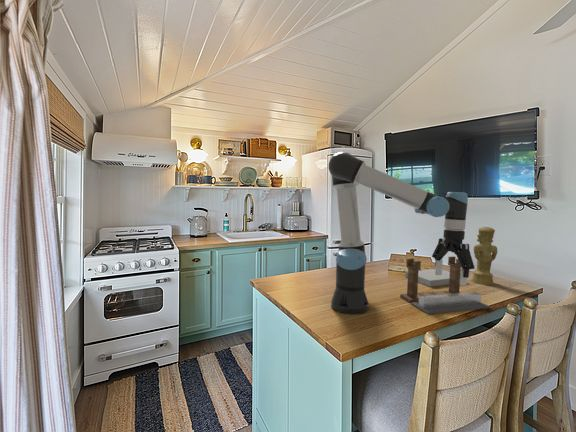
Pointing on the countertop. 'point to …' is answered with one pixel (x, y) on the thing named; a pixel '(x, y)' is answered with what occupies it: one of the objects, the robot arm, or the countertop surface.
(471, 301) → the rail
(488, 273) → the statue
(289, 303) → the countertop surface
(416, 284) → the rack
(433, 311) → the mat
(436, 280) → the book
